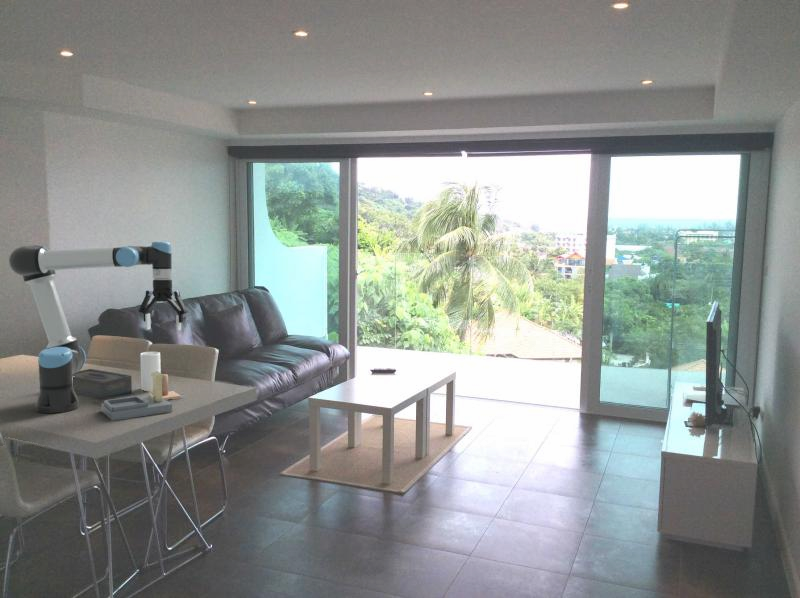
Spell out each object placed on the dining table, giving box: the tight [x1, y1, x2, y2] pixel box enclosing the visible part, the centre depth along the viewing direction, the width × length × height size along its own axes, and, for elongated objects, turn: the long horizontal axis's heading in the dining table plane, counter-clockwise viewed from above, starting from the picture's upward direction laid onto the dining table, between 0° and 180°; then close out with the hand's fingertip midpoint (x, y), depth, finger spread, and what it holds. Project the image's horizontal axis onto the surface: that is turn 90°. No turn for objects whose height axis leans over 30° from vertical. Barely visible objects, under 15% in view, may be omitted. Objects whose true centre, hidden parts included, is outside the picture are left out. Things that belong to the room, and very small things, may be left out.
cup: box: [140, 351, 162, 392], centre depth 298 cm, size 8×8×16 cm
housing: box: [101, 395, 173, 422], centre depth 261 cm, size 22×16×4 cm
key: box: [147, 371, 163, 402], centre depth 268 cm, size 12×2×11 cm, turn 36°
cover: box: [148, 373, 182, 400], centre depth 283 cm, size 10×10×10 cm
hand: (163, 330), depth 281 cm, fingers open, 13 cm apart
